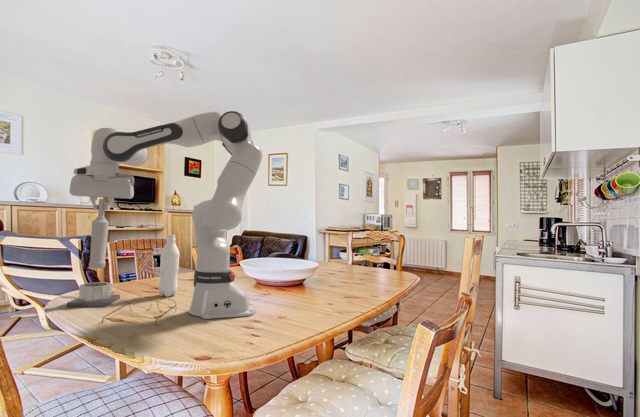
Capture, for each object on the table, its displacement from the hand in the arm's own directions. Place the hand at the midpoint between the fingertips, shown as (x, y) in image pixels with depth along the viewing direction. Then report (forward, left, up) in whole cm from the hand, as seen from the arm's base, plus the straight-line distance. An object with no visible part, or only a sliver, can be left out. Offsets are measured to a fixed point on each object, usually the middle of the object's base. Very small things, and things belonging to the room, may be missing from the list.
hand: (101, 209), depth 119 cm
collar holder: (0, 0, -34) cm, 34 cm away
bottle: (0, 0, -21) cm, 21 cm away
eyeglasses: (-22, +19, -34) cm, 45 cm away
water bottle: (-22, -11, -34) cm, 42 cm away
